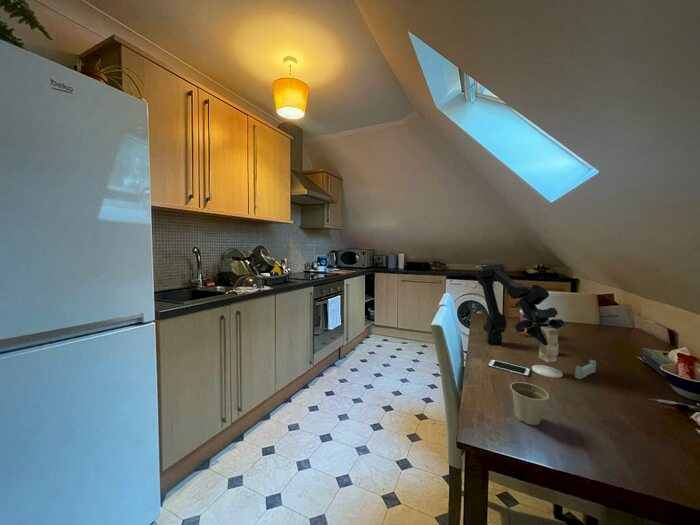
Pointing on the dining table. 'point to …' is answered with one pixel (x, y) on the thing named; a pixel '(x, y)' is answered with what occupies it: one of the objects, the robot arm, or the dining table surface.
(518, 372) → the cell phone
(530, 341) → the dining table surface
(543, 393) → the flower pot
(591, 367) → the fence
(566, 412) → the dining table surface
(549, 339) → the beech block
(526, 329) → the smoothie
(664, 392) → the dining table surface
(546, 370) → the coaster
